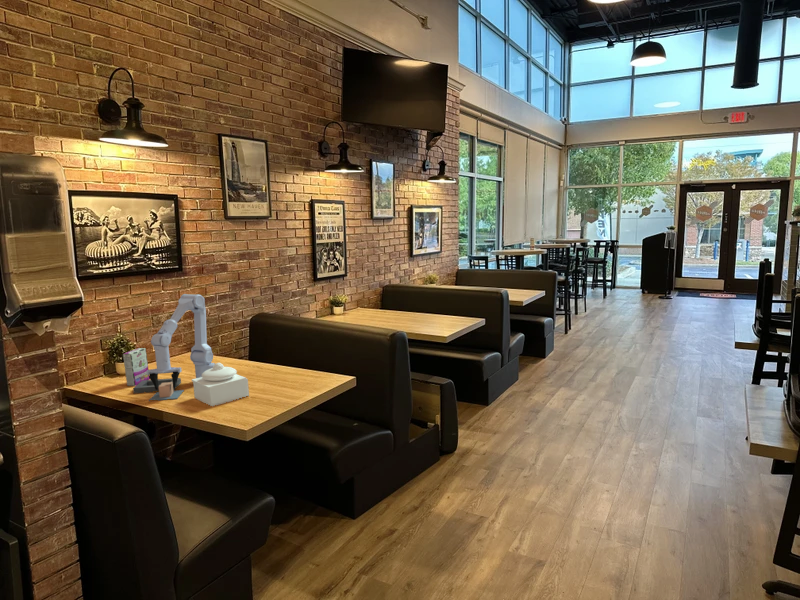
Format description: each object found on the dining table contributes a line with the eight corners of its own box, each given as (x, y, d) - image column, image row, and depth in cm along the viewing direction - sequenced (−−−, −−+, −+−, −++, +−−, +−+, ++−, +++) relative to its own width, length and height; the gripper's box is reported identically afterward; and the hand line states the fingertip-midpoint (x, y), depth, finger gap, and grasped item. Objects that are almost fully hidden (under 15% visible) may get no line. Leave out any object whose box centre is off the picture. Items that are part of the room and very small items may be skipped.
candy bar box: (141, 379, 271) (137, 347, 268) (150, 379, 270) (146, 348, 267) (126, 386, 260) (122, 353, 257) (135, 386, 259) (131, 353, 256)
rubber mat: (184, 390, 248) (183, 389, 248) (176, 399, 237) (176, 398, 237) (157, 392, 247) (157, 391, 247) (148, 401, 235) (148, 400, 235)
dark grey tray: (181, 382, 262) (180, 377, 261) (173, 390, 250) (173, 385, 249) (142, 385, 259) (142, 380, 259) (133, 393, 247) (133, 388, 247)
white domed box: (249, 396, 237) (246, 362, 235) (210, 407, 225) (207, 371, 222) (231, 388, 250) (228, 355, 247) (193, 398, 237) (189, 364, 235)
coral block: (173, 392, 245) (172, 382, 244) (170, 396, 239) (169, 385, 239) (163, 393, 244) (162, 382, 244) (159, 397, 239) (158, 386, 238)
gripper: (143, 363, 234) (146, 392, 236) (177, 360, 236) (180, 390, 238) (148, 359, 241) (151, 387, 243) (181, 356, 243) (184, 385, 245)
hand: (166, 388), depth 241 cm, fingers open, 7 cm apart
